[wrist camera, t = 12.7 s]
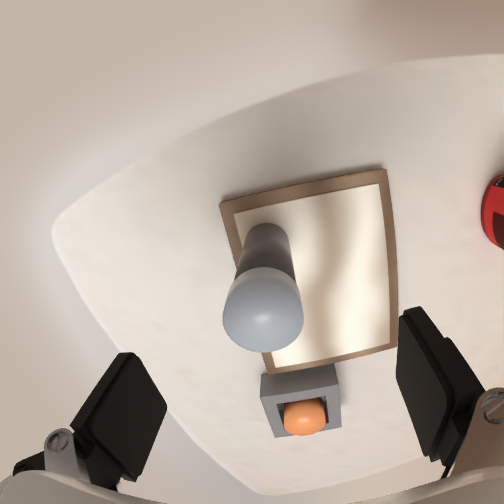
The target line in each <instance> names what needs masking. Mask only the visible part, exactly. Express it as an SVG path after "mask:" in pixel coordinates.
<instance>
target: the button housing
mask: <svg viewBox="0 0 504 504" xmlns="http://www.w3.org/2000/svg"><path fill="white" fill-rule="evenodd" d="M322 396H325V398H326V402H323V407H324V414H325V421H326V423H325V426H324V427H323V428H322V429H321V430H320V431H324V430H329V429H334V428H339V427H342V424H341V409H340V396H339V385H338V380H337V376H336V371H335V367H334V363H331V364H326V365H321V366H316V367H311V368H305V369H300V370H294V371H288V372H282V373H275V374H269V375H268V374H264V375H261V388H260V399H261V402H262V405H263V407H264V410H265V413H266V415H267V418H268V421H269V423H270V426H271V429H272V431H273V434H274V437H275V438H276V437H285V436H292V435H293V434H290V433H288V432H287V431H286V430H285V428H284V406H283V403H286V402H293V401H299V400H305V399H311V398H317V397H322Z"/></svg>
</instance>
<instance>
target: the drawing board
mask: <svg viewBox="0 0 504 504" xmlns="http://www.w3.org/2000/svg"><path fill="white" fill-rule="evenodd" d="M219 208H220V211H221V215H222V219H223V222H224V226H225V229H226V233H227V236H228V240H229V244H230V247H231V251H232V254H233V258H234V261H235V265H236V268H238V264H239V260H240V257H241V253H242V250H243V246H244V242H245V239H246V236H247V234H248V232H249V231H250V230H251V229H252V228H253V227H255V226H256V225H259V224H262V223H271V224H275V225H277V226H279V227H281V228H282V229H283V230H284V231H285V233H286V234H287V236H288V239H289V244H290V249H291V255H292V261H293V267H294V272H295V278H296V284H297V286H298V289H299V292H300V296H301V302H302V308H303V314H304V324H303V328H302V331H301V333H300V334H299V336H298V337H297V339H296V340H295V341H294V342H292V343H291V344H290V345H288V346H287V347H285V348H283V349H280V350H277V351H273V352H261V353H262V356H263V360H264V363H265V366H266V369H267V373H268V375H269V374H275V373H282V372H288V371H294V370H300V369H305V368H311V367H316V366H321V365H326V364H331V363H335V362H340V361H344V360H348V359H353V358H357V357H361V356H365V355H369V354H373V353H376V352H380V351H384V350H387V349H391V348H394V347H397V340H398V274H397V255H396V242H395V230H394V220H393V212H392V203H391V196H390V189H389V182H388V176H387V170H386V169H376V170H370V171H365V172H359V173H353V174H348V175H342V176H337V177H332V178H327V179H322V180H317V181H312V182H307V183H302V184H297V185H293V186H288V187H283V188H279V189H274V190H270V191H265V192H261V193H257V194H253V195H248V196H244V197H240V198H236V199H232V200H228V201H224V202H221V203H220V204H219Z"/></svg>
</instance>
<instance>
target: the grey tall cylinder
mask: <svg viewBox="0 0 504 504" xmlns="http://www.w3.org/2000/svg"><path fill="white" fill-rule="evenodd" d="M303 324H304V314H303V308H302V302H301V296H300V292H299V289H298V286H297V284H296V278H295V272H294V267H293V261H292V255H291V249H290V244H289V239H288V236H287V234H286V233H285V231H284V230H283V229H282V228H281V227H279V226H277V225H275V224H271V223H262V224H259V225H256V226H255V227H253V228H252V229H251V230H250V231H249V232H248V234H247V236H246V239H245V242H244V246H243V250H242V253H241V257H240V260H239V264H238V268H237V271H236V275H235V279H234V282H233V283H232V285H231V287H230V290H229V293H228V297H227V300H226V304H225V307H224V311H223V325H224V329H225V331H226V333H227V334H228V336H229V337H230V338H231V339H232V340H233V341H234V342H235V343H236V344H238V345H239V346H241V347H243V348H245V349H247V350H250V351H255V352H273V351H277V350H280V349H283V348H285V347H287V346H288V345H290V344H291V343H292V342H294V341H295V340H296V339H297V337H298V336H299V334H300V333H301V331H302V328H303Z"/></svg>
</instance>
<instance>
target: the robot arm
mask: <svg viewBox="0 0 504 504" xmlns="http://www.w3.org/2000/svg"><path fill="white" fill-rule="evenodd" d="M396 380H397V383H398V386H399V388H400V391H401V393H402V396H403V399H404V401H405V404H406V406H407V409H408V412H409V415H410V417H411V420H412V423H413V426H414V429H415V431H416V434H417V437H418V440H419V443H420V446H421V449H422V452H423V455H424V456H425V457H426V456H429V457H430V461H431V462H434V461H436V460H439V459H441V462H442V465H443V466H445V467H444V470H443V472H442V474H441V476H440V478H439V480H437V481H435V482H431V483H428V484H425V485H422V486H418V487H415V488H412V489H408V490H405V491H402V492H399V493H395V494H391V495H387V496H383V497H379V498H375V499H370V500H366V501H360V502H355V503H350V504H504V388H493V389H489V390H488V391H485V389H484V388H483V386H482V385H481V383H480V382H479V380H478V378H477V377H476V375H475V374H474V372H473V371H472V369H471V368H470V366H469V365H468V363H467V362H466V360H465V359H464V357H463V356H462V354H461V353H460V352H459V350H458V349H457V347H456V346H455V344H454V343H453V342H452V340H451V339H450V338H448V337H446V338H444V337H443V336H442V334H441V333H440V331H439V330H438V329H437V327H436V326H435V325H434V323H433V322H432V320H431V319H430V318H429V316H428V315H427V314H426V312H425V311H424V310H423V308H422V307H421V306H418V307H414V308H411V309H407V310H405V311H404V312H403V315H401V316H399V327H398V350H397V365H396ZM166 411H167V404H166V402H165V400H164V398H163V397H162V395H161V394H160V392H159V390H158V389H157V387H156V385H155V384H154V382H153V380H152V379H151V377H150V375H149V374H148V372H147V370H146V368H145V367H144V365H143V363H142V361H141V360H140V358H139V357H138V356H136V355H135V354H134V353H132V352H127V353H119V354H118V355H117V356H116V358H115V359H114V360H113V362H112V363H111V365H110V366H109V368H108V369H107V370H106V372H105V373H104V375H103V376H102V378H101V379H100V381H99V382H98V384H97V385H96V386H95V388H94V389H93V391H92V392H91V394H90V395H89V397H88V398H87V400H86V401H85V403H84V404H83V406H82V407H81V409H80V410H79V412H78V413H77V415H76V416H75V418H74V419H73V421H72V423H71V424H70V426H71V427H72V429H73V430H74V433H73V434H72V432H71V431H70V430H68V429H66V428H60V429H57V430H55V431H53V432H52V433H51V434H49V436H48V437H47V438H46V440H45V443H44V451H42V452H40V453H38V454H35V455H33V456H31V457H28V458H26V459H23V460H22V461H20V462H18V463H16V465H15V466H14V470H13V476H12V475H10V476H9V477H7V478H6V479H4V480H3V481H2V482H1V483H0V504H165V503H161V502H156V501H150V500H146V499H142V498H138V497H134V496H130V495H126V494H125V493H124V490H123V488H122V485H121V483H120V478H121V477H122V478H123V479H124V480H128V481H132V482H136V480H137V478H138V476H140V475H141V474H142V471H143V469H144V466H145V464H146V461H147V459H148V456H149V453H150V451H151V449H152V446H153V443H154V441H155V439H156V436H157V434H158V431H159V429H160V426H161V424H162V421H163V419H164V416H165V414H166Z"/></svg>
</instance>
